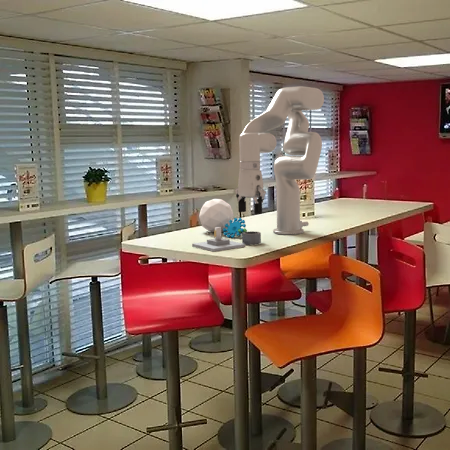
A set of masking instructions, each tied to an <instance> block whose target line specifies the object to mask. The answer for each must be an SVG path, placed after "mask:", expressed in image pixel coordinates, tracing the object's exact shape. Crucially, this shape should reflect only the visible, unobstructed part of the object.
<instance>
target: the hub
mask: <svg viewBox="0 0 450 450" xmlns="http://www.w3.org/2000/svg"><path fill="white" fill-rule="evenodd" d="M241 239H242V240H241V243H243V244H245V246H257V245H261V244H262V233H261V232H260V231H252V230H251V231H247V232H243V233H242V234H241Z"/></svg>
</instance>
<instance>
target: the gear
mask: <svg viewBox="0 0 450 450" xmlns="http://www.w3.org/2000/svg"><path fill="white" fill-rule="evenodd" d="M229 222H230V225H229V226H228V224H225V227H228V229H225V228H224V229H223V235H224V236H225V237H226V239H230V238H232V239H234V238H235V237H242V233H243V232H248V230H247V229H246V226H247V225H246V220H245V219H243V218H241V217H239V218H237V217H233V221H232V220H229Z"/></svg>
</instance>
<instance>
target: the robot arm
mask: <svg viewBox="0 0 450 450" xmlns="http://www.w3.org/2000/svg"><path fill="white" fill-rule="evenodd" d="M324 102H325V96H324V93H323V91H322V90H321V89H320V88H317V87H309V86H302V85H298V86H287V87H282V88H280V89H278V90H277V91H276V93H274V96H273V98H272V100H271V102H270V103H269V105H268V106H267V108H266V110H265V111H264V112H262V113H261V114H259V115H258V116H257V117H255V118H253V119H252V120H251V121H250V122H249V123H247V125H246V126H245V127H244V129H243V131H242V133H240V135H239V142H238V144H239V145H238V146H239V172H238V182H237V185H238V186H237V187H236V188H235V190H234V192H235V197H236V199H237V203H238V207H237V208H238V210H237V212H238V213H246V212H247V201H246V200H247V199H248V198H250V199H253V200H254V202H255V203H254V204H253V206H254V207H253V210H254V211H253V214H254V215H262V214H263V203H264V200H265V198H266V194H267V192H266V190H265V189H264V180H263V174H262V170H261V154H266V153H267V154H268V153H271V152H273V151H274V150H275V149H276V147H277V144H278V143H277V142H278V141H277V138H276V137H275V135H274V134H272V133H270V132H269V131H272V130H275V129H277V128H279V127H281V126H283V125H284V124H285V122H286V121H287V118H288V125H287V129H286V133H285V137H284V140H283V152H284V153H285V154H286V155H282V156H279V157H277V158H276V159H275V161H274V163H273V171H274V176H275V184H276V185H275V187H276V228H274V229H273V230H272V231H273V234H276V235H299V234H300V235H301V234H303V233H305V229H303V227H308V226H309V222H308V221H302V220H301V198H300V197H301V192H300V190H301V189H300V187H299V184H298V183H297V181H296V180H311V179H313V178H314V177H315V175H316V174H317V170H318V169H317V168H318V165H319V161H320V157H321V154H322V150H323V149H322V147H323V141H322V140H323V139H322V137H321V135H320V133H318V132H316V131H309V127H310V123H309V120H308V118H307V117H306V115H305V114H304V113H303V111H318V110H319V109H321V108H322V107H323V104H324Z"/></svg>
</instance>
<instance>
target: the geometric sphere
mask: <svg viewBox="0 0 450 450" xmlns="http://www.w3.org/2000/svg"><path fill="white" fill-rule="evenodd" d="M199 211H200V212H199V215H198V218H199V221H200V223H201V227H203V228H204V229H206V230H207V231H208V232H211V233H214V230H215V228H216V227H221V233H222V232H223V233H224V231H223V229H224V228H225V229H228V227H225V224H228V226H229V225H230V222H229V220H232V221H234V211H233V208H232V205H231V204H229V203H228V202H227V201H225V200H223V199H221V198H213V199H210V200H207V201H205V202H204V203H203V204H202V207H201V209H200V210H199Z"/></svg>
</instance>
